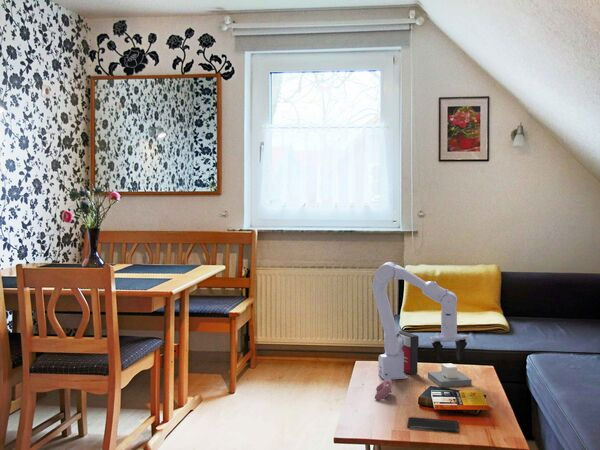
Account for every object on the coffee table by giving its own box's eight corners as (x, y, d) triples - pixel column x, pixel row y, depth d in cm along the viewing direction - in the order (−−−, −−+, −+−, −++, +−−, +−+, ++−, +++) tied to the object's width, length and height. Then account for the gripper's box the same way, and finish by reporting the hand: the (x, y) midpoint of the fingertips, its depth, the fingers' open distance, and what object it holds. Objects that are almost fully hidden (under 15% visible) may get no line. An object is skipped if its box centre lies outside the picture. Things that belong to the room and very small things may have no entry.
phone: (458, 430, 169) (406, 426, 173) (458, 434, 169) (406, 429, 173) (458, 420, 177) (408, 416, 181) (458, 424, 177) (408, 420, 181)
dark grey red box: (393, 368, 235) (393, 331, 235) (402, 366, 237) (402, 330, 236) (409, 375, 225) (409, 337, 225) (418, 373, 227) (418, 335, 226)
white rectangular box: (447, 383, 214) (447, 367, 214) (441, 379, 219) (441, 363, 219) (457, 382, 215) (457, 366, 215) (451, 378, 220) (451, 363, 220)
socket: (440, 387, 210) (440, 379, 210) (427, 377, 222) (427, 369, 222) (471, 384, 212) (471, 376, 212) (457, 375, 224) (457, 367, 224)
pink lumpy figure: (385, 405, 197) (394, 388, 196) (373, 399, 198) (382, 381, 197) (386, 395, 207) (395, 379, 206) (375, 389, 207) (383, 372, 207)
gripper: (435, 327, 211) (435, 364, 212) (472, 325, 214) (472, 362, 214) (427, 323, 218) (427, 359, 219) (463, 322, 221) (463, 357, 221)
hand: (449, 360), depth 217 cm, fingers open, 7 cm apart
